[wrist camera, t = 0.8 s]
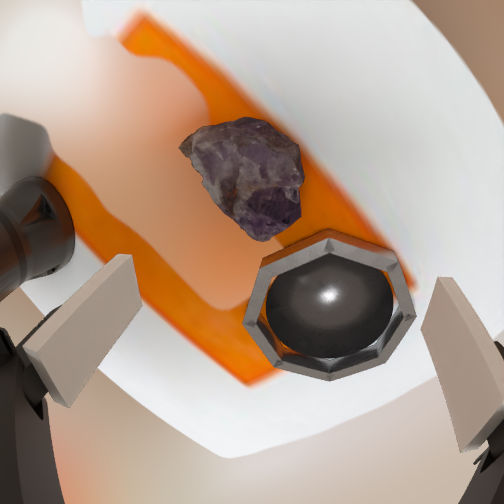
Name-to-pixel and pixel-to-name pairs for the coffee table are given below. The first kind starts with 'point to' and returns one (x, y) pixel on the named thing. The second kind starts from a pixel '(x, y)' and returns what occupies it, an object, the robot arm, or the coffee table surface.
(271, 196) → the rock
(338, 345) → the collar
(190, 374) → the coffee table surface
